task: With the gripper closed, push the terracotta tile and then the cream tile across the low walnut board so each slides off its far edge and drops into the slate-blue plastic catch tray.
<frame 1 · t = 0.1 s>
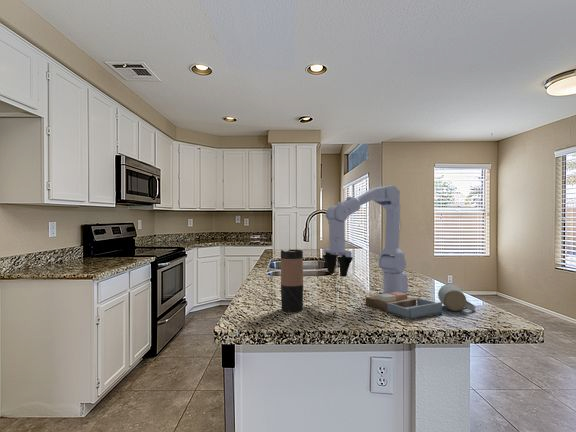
hand: (337, 274, 120), 10 cm above the countertop, tool pointing down, fingers open, 7 cm apart
travel mug: (292, 310, 111), on the countertop
catch tray: (414, 312, 106), on the countertop
ceramic mug: (456, 309, 110), on the countertop
cream tile: (386, 297, 113), point 3 cm above the countertop, touching walnut board
walnut board: (390, 305, 115), on the countertop
terracotta tile: (397, 295, 116), point 3 cm above the countertop, touching walnut board
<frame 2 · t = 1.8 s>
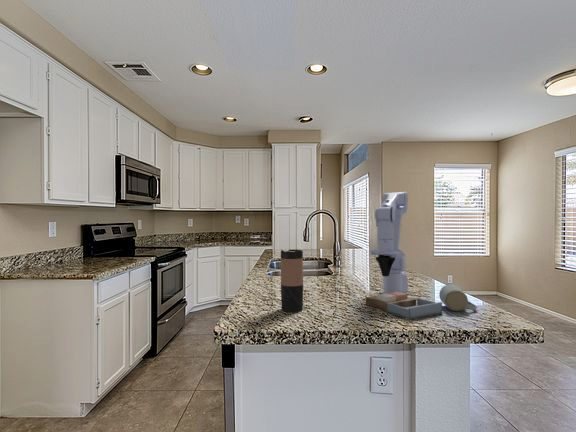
hand: (385, 276, 121), 9 cm above the countertop, tool pointing down, fingers closed
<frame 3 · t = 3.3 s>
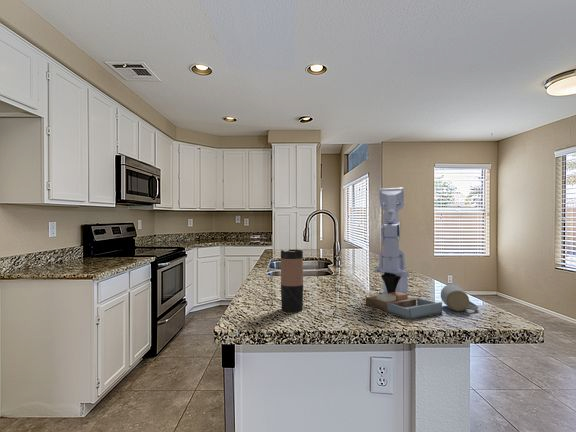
hand: (391, 294, 118), 3 cm above the countertop, tool pointing down, fingers closed
terracotta tile: (398, 295, 115), point 3 cm above the countertop, touching gripper
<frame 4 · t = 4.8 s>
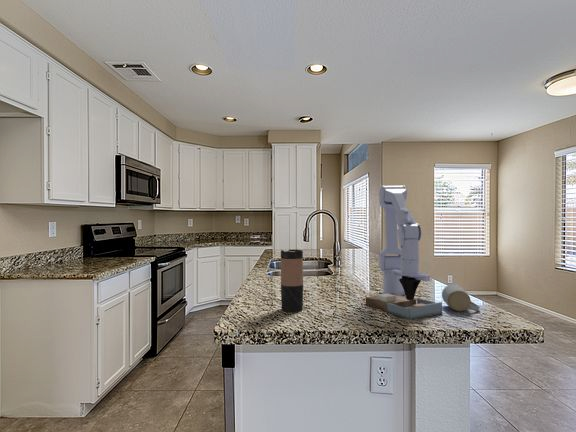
hand: (410, 299, 111), 3 cm above the countertop, tool pointing down, fingers closed
terracotta tile: (422, 308, 106), point 1 cm above the countertop, tilted 180°, touching catch tray
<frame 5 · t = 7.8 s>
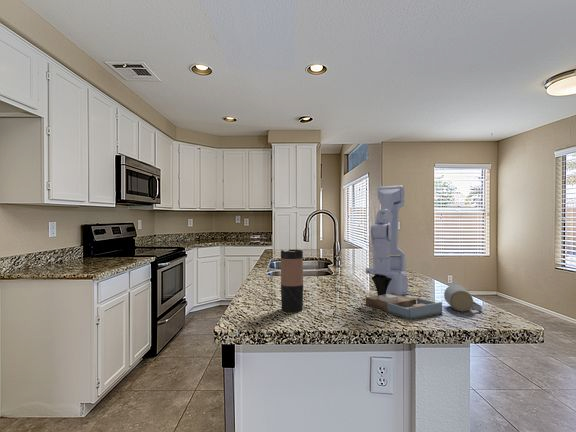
hand: (381, 296, 115), 3 cm above the countertop, tool pointing down, fingers closed
cream tile: (388, 298, 112), point 3 cm above the countertop, touching gripper, walnut board
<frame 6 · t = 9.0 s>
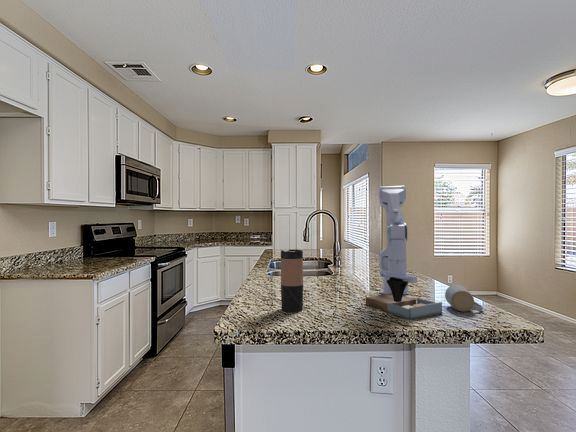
hand: (397, 301, 108), 3 cm above the countertop, tool pointing down, fingers closed
cream tile: (408, 310, 104), point 1 cm above the countertop, tilted 180°, touching catch tray
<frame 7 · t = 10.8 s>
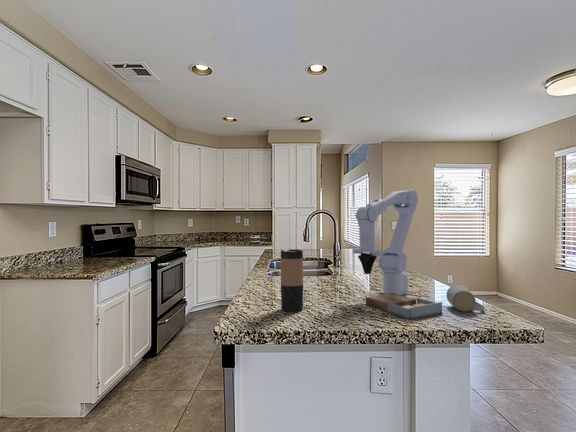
hand: (367, 273, 124), 10 cm above the countertop, tool pointing down, fingers closed
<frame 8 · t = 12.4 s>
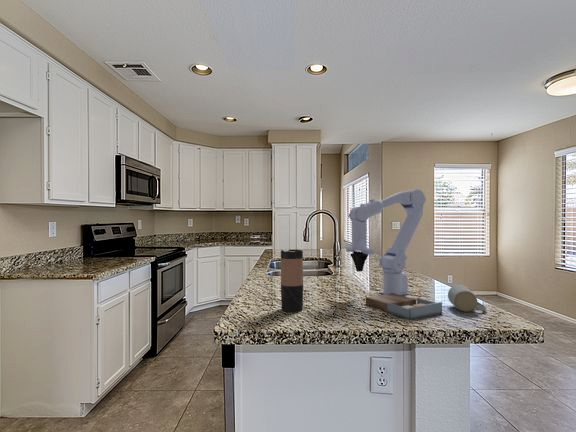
hand: (359, 271, 129), 10 cm above the countertop, tool pointing down, fingers closed
at the end: terracotta tile inside the target area (2.5 cm from its centre), point 1.4 cm above the countertop; cream tile inside the target area (3.3 cm from its centre), point 1.4 cm above the countertop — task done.
